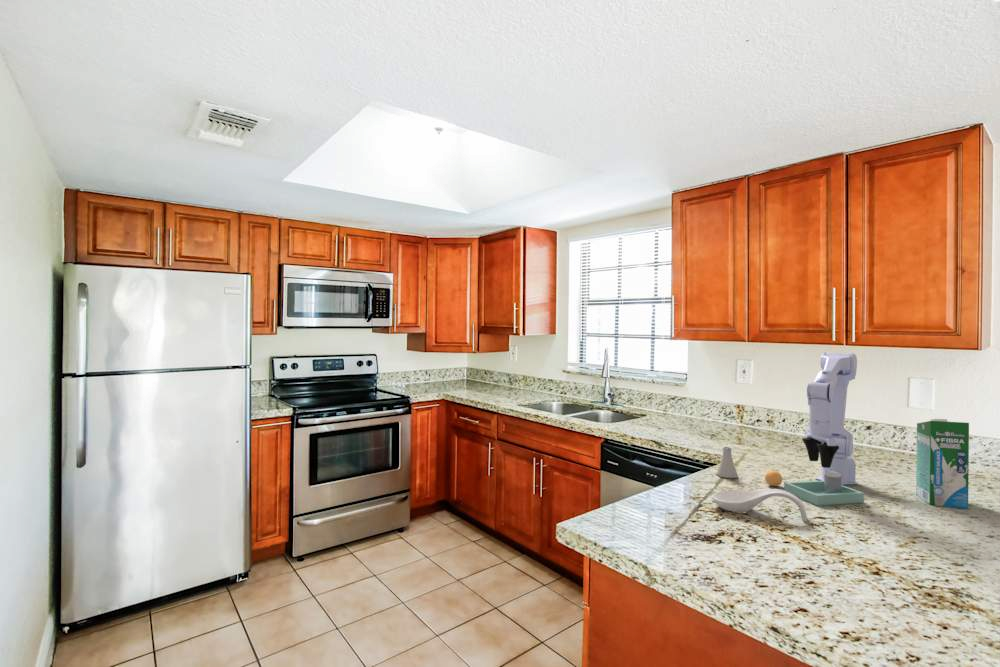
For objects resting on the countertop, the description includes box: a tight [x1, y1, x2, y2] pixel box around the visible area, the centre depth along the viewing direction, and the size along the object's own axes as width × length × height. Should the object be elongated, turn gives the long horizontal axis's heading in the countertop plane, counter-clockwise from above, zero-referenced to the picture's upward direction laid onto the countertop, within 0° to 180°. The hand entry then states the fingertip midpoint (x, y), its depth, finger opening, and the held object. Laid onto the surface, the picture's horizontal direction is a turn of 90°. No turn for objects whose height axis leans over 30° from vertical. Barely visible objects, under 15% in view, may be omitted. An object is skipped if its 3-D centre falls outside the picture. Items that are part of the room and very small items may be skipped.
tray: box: [783, 480, 865, 507], centre depth 154 cm, size 16×13×3 cm
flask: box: [716, 446, 739, 479], centre depth 176 cm, size 7×7×10 cm
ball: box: [764, 470, 783, 487], centre depth 165 cm, size 5×5×5 cm
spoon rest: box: [711, 488, 808, 523], centre depth 141 cm, size 24×12×7 cm, turn 64°
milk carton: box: [915, 418, 970, 510], centre depth 150 cm, size 9×9×25 cm
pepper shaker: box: [824, 471, 842, 494], centre depth 154 cm, size 4×4×7 cm
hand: (819, 464), depth 157 cm, fingers open, 7 cm apart
